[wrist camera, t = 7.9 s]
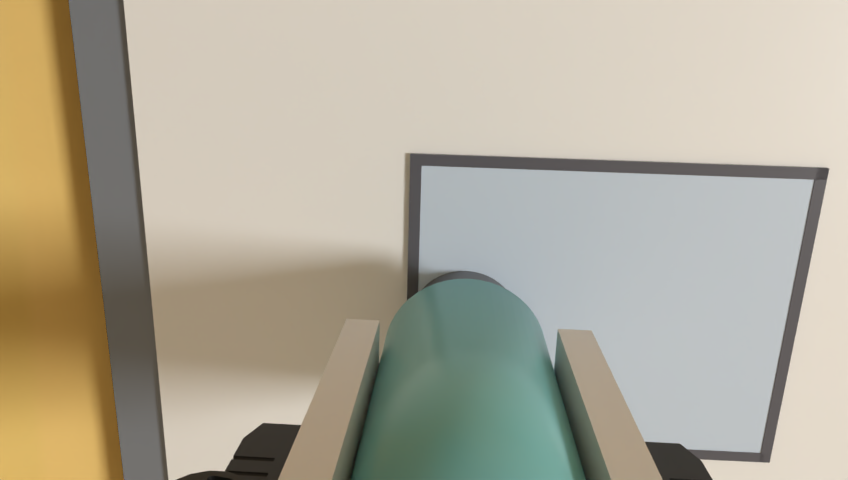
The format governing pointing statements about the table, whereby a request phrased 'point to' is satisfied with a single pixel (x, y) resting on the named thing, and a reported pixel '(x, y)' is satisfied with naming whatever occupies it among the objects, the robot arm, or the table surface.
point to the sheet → (474, 204)
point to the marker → (466, 391)
